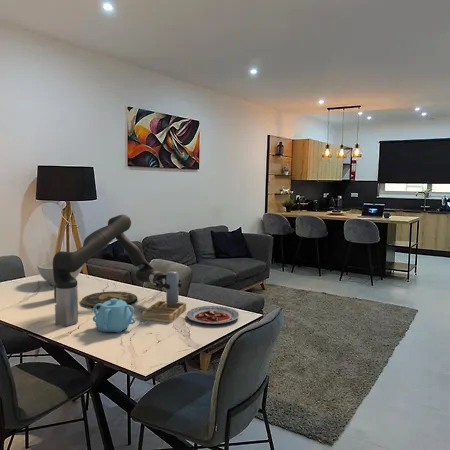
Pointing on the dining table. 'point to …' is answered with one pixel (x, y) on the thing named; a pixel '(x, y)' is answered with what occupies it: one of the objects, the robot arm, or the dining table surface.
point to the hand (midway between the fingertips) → (174, 286)
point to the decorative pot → (113, 316)
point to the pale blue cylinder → (172, 287)
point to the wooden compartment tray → (164, 311)
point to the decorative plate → (107, 298)
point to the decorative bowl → (47, 271)
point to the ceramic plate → (212, 314)
